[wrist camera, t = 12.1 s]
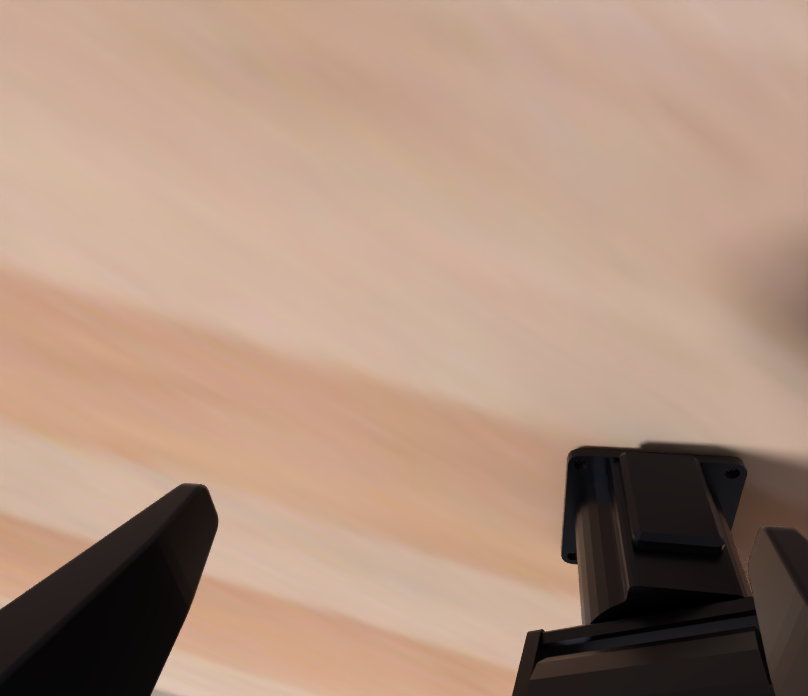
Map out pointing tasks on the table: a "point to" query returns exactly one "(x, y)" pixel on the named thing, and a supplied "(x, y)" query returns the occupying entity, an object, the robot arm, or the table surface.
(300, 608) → the table surface
